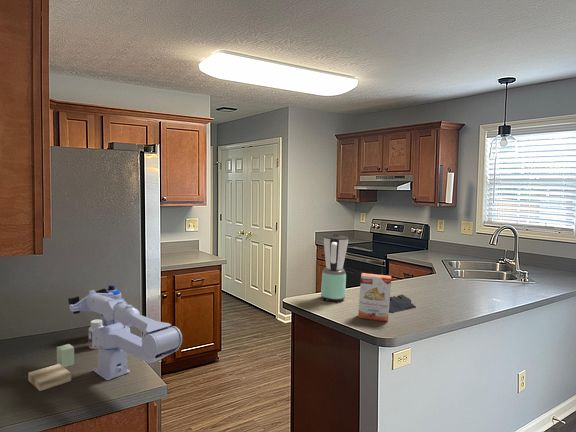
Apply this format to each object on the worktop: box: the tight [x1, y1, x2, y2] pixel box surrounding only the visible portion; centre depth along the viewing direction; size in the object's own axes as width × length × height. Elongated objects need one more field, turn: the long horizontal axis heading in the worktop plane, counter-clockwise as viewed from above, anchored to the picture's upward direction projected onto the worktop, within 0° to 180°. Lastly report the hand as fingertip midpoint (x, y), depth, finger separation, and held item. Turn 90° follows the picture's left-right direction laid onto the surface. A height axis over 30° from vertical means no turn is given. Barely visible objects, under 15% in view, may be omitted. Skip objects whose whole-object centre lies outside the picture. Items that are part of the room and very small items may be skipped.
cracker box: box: [357, 272, 392, 322], centre depth 203 cm, size 14×6×21 cm, turn 76°
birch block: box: [27, 363, 72, 392], centre depth 133 cm, size 9×9×3 cm
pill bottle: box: [88, 318, 104, 350], centre depth 159 cm, size 5×5×10 cm
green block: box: [56, 343, 75, 368], centre depth 144 cm, size 4×4×6 cm
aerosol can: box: [100, 285, 123, 327], centre depth 170 cm, size 8×8×20 cm
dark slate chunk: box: [389, 294, 417, 314], centre depth 224 cm, size 15×22×5 cm
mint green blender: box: [320, 234, 350, 303], centre depth 229 cm, size 19×13×35 cm
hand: (80, 297), depth 151 cm, fingers open, 7 cm apart
